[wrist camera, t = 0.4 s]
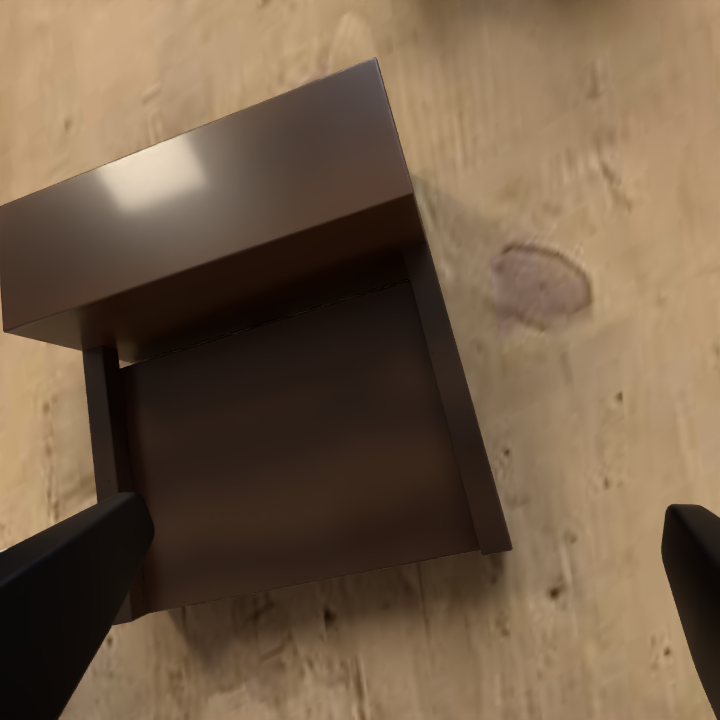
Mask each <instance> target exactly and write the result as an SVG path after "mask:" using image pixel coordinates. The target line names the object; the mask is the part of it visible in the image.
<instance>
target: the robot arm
mask: <svg viewBox="0 0 720 720" xmlns="http://www.w3.org/2000/svg"><path fill="white" fill-rule="evenodd" d="M154 535H155V527H154V523H153V521H152V518H151V515H150V512H149V510H148V507H147V504H146V501H145V499H144V497H143V496H142V495H141V494H139V493H135V492H121V493H117V494H115V495H113V496H111V497H109V498H107V499H105V500H103V501H101V502H99V503H97V504H95V505H93V506H91V507H89V508H87V509H85V510H83V511H81V512H79V513H77V514H75V515H73V516H71V517H69V518H67V519H65V520H63V521H61V522H59V523H58V524H56V525H54V526H52V527H50V528H48V529H46V530H44V531H42V532H40V533H38V534H36V535H34V536H32V537H30V538H28V539H26V540H24V541H22V542H20V543H18V544H16V545H14V546H12V547H10V548H8V549H6V550H4V551H2V552H0V720H58V719H59V717H60V715H61V714H62V712H63V710H64V708H65V707H66V705H67V703H68V701H69V700H70V698H71V696H72V694H73V693H74V691H75V689H76V688H77V686H78V684H79V682H80V681H81V679H82V677H83V675H84V674H85V672H86V670H87V668H88V667H89V665H90V663H91V661H92V660H93V658H94V656H95V655H96V653H97V651H98V649H99V648H100V646H101V644H102V642H103V641H104V639H105V637H106V635H107V634H108V632H109V630H110V628H111V627H112V625H113V623H114V621H115V619H116V618H117V616H118V614H119V612H120V610H121V608H122V606H123V604H124V601H125V599H126V597H127V595H128V593H129V591H130V589H131V586H132V584H133V582H134V580H135V578H136V576H137V573H138V571H139V569H140V567H141V565H142V563H143V561H144V558H145V556H146V554H147V552H148V550H149V548H150V546H151V543H152V541H153V539H154ZM661 553H662V560H663V564H664V568H665V571H666V574H667V578H668V581H669V584H670V587H671V591H672V594H673V597H674V601H675V604H676V607H677V610H678V614H679V617H680V620H681V624H682V627H683V630H684V633H685V637H686V640H687V643H688V646H689V650H690V653H691V656H692V659H693V662H694V665H695V668H696V670H697V673H698V675H699V678H700V681H701V683H702V686H703V688H704V690H705V693H706V695H707V697H708V700H709V702H710V704H711V707H712V709H713V711H714V714H715V716H716V718H717V720H720V518H719V517H718V516H716V515H715V514H713V513H712V512H710V511H709V510H707V509H706V508H704V507H702V506H700V505H693V504H671V505H670V506H668V508H667V510H666V513H665V521H664V529H663V537H662V545H661Z"/></svg>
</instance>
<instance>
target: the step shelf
mask: <svg viewBox="0 0 720 720" xmlns="http://www.w3.org/2000/svg"><path fill="white" fill-rule="evenodd" d="M408 278H409V281H407V282H404V283H400V284H397V285H394V286H390V287H387V288H384V289H380V290H377V291H374V292H371V293H367V294H364V295H361V296H357V297H354V298H351V299H348V300H344V301H341V302H338V303H334V304H331V305H328V306H324V307H321V308H318V309H315V310H311V311H308V312H305V313H301V314H298V315H295V316H291V317H288V318H285V319H282V320H278V321H275V322H272V323H268V324H265V325H262V326H259V327H255V328H252V329H249V330H245V331H242V332H239V333H235V334H232V335H229V336H226V337H222V338H219V339H216V340H212V341H209V342H206V343H203V344H199V345H196V346H193V347H189V348H186V349H183V350H179V351H176V352H173V353H170V354H166V355H163V356H160V357H156V358H153V359H150V360H147V361H143V362H140V363H137V364H133V365H130V366H127V367H123V368H120V366H119V360H122V361H126V362H131V363H132V362H135V361H139V360H142V359H145V358H148V357H152V356H155V355H158V354H162V353H165V352H168V351H171V350H175V349H178V348H181V347H185V346H188V345H191V344H194V343H198V342H201V341H204V340H208V339H211V338H214V337H217V336H221V335H224V334H227V333H230V332H234V331H237V330H240V329H244V328H247V327H250V326H253V325H257V324H260V323H263V322H267V321H270V320H273V319H276V318H280V317H283V316H286V315H290V314H293V313H296V312H299V311H303V310H306V309H309V308H313V307H316V306H319V305H322V304H326V303H329V302H332V301H336V300H339V299H342V298H345V297H349V296H352V295H355V294H359V293H362V292H365V291H368V290H372V289H375V288H378V287H382V286H385V285H388V284H391V283H395V282H398V281H401V280H404V279H408ZM0 286H1V302H2V318H3V331H4V332H5V333H10V334H14V335H18V336H22V337H26V338H30V339H35V340H39V341H43V342H47V343H51V344H55V345H60V346H64V347H68V348H72V349H76V350H80V351H82V353H83V363H84V373H85V383H86V393H87V403H88V413H89V423H90V433H91V443H92V453H93V463H94V473H95V483H96V493H97V503H99V502H101V501H103V500H105V499H107V498H109V497H111V496H113V495H115V494H117V493H121V492H135V493H139V494H141V495H142V496H143V497H144V499H145V501H146V504H147V507H148V510H149V512H150V515H151V518H152V521H153V523H154V527H155V535H154V539H153V541H152V543H151V546H150V548H149V550H148V552H147V554H146V556H145V558H144V561H143V563H142V565H141V567H140V569H139V571H138V573H137V576H136V578H135V580H134V582H133V584H132V586H131V589H130V591H129V593H128V595H127V597H126V599H125V601H124V604H123V606H122V608H121V610H120V612H119V614H118V616H117V618H116V619H115V621H114V623H113V625H118V624H123V623H128V622H132V621H134V620H136V619H138V618H140V617H142V616H144V615H146V614H148V613H153V612H158V611H163V610H169V609H174V608H179V607H184V606H190V605H195V604H200V603H205V602H210V601H216V600H221V599H226V598H231V597H237V596H242V595H247V594H252V593H258V592H263V591H268V590H273V589H278V588H284V587H289V586H294V585H299V584H305V583H310V582H315V581H320V580H326V579H331V578H336V577H341V576H346V575H352V574H357V573H362V572H367V571H373V570H378V569H383V568H388V567H393V566H399V565H404V564H409V563H414V562H420V561H425V560H430V559H435V558H441V557H446V556H451V555H456V554H461V553H467V552H472V551H477V550H480V551H481V554H482V555H489V554H494V553H499V552H504V551H510V550H512V549H513V547H512V544H511V540H510V536H509V533H508V529H507V526H506V522H505V518H504V515H503V511H502V508H501V504H500V500H499V497H498V493H497V490H496V486H495V482H494V479H493V475H492V472H491V468H490V464H489V461H488V457H487V454H486V450H485V446H484V443H483V439H482V436H481V432H480V428H479V425H478V421H477V418H476V414H475V410H474V407H473V403H472V400H471V396H470V392H469V389H468V385H467V382H466V378H465V374H464V371H463V367H462V364H461V360H460V357H459V353H458V349H457V346H456V342H455V339H454V335H453V331H452V328H451V324H450V321H449V317H448V313H447V310H446V306H445V303H444V299H443V295H442V292H441V288H440V285H439V281H438V277H437V274H436V270H435V267H434V263H433V259H432V256H431V252H430V249H429V245H428V241H427V238H426V234H425V230H424V227H423V223H422V219H421V216H420V212H419V208H418V205H417V201H416V197H415V194H414V190H413V186H412V183H411V179H410V176H409V172H408V168H407V165H406V161H405V158H404V154H403V150H402V147H401V143H400V140H399V136H398V132H397V129H396V125H395V122H394V118H393V115H392V111H391V107H390V104H389V100H388V97H387V93H386V89H385V86H384V82H383V79H382V75H381V71H380V68H379V64H378V61H377V58H376V57H374V58H371V59H369V60H366V61H364V62H361V63H359V64H356V65H354V66H351V67H349V68H346V69H344V70H341V71H339V72H336V73H334V74H331V75H329V76H326V77H324V78H321V79H319V80H316V81H314V82H311V83H308V84H306V85H303V86H301V87H298V88H296V89H293V90H291V91H288V92H286V93H283V94H281V95H278V96H276V97H273V98H271V99H268V100H266V101H263V102H261V103H258V104H256V105H253V106H251V107H248V108H246V109H243V110H241V111H238V112H236V113H233V114H231V115H228V116H226V117H223V118H220V119H218V120H215V121H213V122H210V123H208V124H205V125H203V126H200V127H198V128H195V129H193V130H190V131H188V132H185V133H183V134H180V135H178V136H175V137H173V138H170V139H168V140H165V141H163V142H160V143H158V144H155V145H153V146H150V147H148V148H145V149H143V150H140V151H138V152H135V153H133V154H130V155H127V156H125V157H122V158H120V159H117V160H115V161H112V162H110V163H107V164H105V165H102V166H100V167H97V168H95V169H92V170H90V171H87V172H85V173H82V174H80V175H77V176H75V177H72V178H70V179H67V180H65V181H62V182H60V183H57V184H55V185H52V186H50V187H47V188H45V189H42V190H40V191H37V192H34V193H32V194H29V195H27V196H24V197H22V198H19V199H17V200H14V201H12V202H9V203H7V204H4V205H2V206H0Z"/></svg>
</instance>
